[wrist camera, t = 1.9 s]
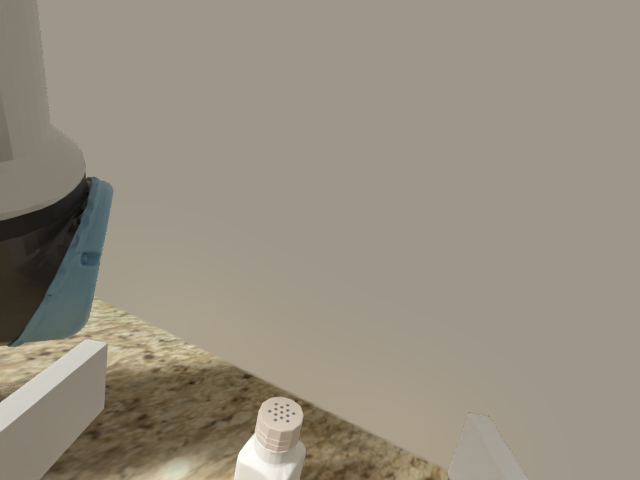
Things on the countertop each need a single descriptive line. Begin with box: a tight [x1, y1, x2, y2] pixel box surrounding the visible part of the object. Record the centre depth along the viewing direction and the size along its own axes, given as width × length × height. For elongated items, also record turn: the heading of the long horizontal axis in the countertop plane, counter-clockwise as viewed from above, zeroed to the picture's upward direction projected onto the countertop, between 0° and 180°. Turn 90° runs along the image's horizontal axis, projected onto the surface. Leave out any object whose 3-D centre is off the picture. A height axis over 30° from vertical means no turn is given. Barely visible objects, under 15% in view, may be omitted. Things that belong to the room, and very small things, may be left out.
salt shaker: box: [234, 397, 306, 480], centre depth 25 cm, size 4×4×10 cm
